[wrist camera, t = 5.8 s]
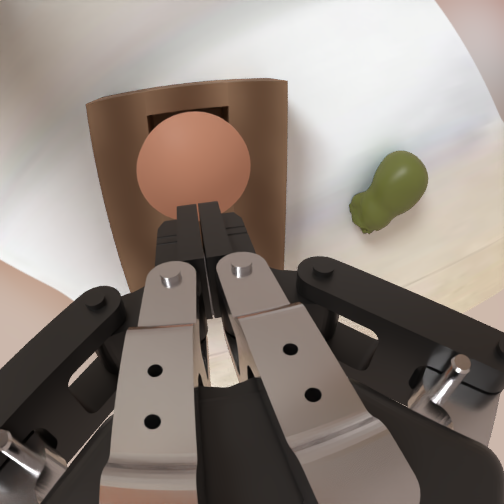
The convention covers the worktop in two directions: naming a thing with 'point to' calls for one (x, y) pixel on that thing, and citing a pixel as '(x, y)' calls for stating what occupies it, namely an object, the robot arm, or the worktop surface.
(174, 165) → the tan round knob
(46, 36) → the worktop surface
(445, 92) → the worktop surface
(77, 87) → the worktop surface
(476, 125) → the worktop surface
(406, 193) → the pear
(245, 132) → the brown wooden block
